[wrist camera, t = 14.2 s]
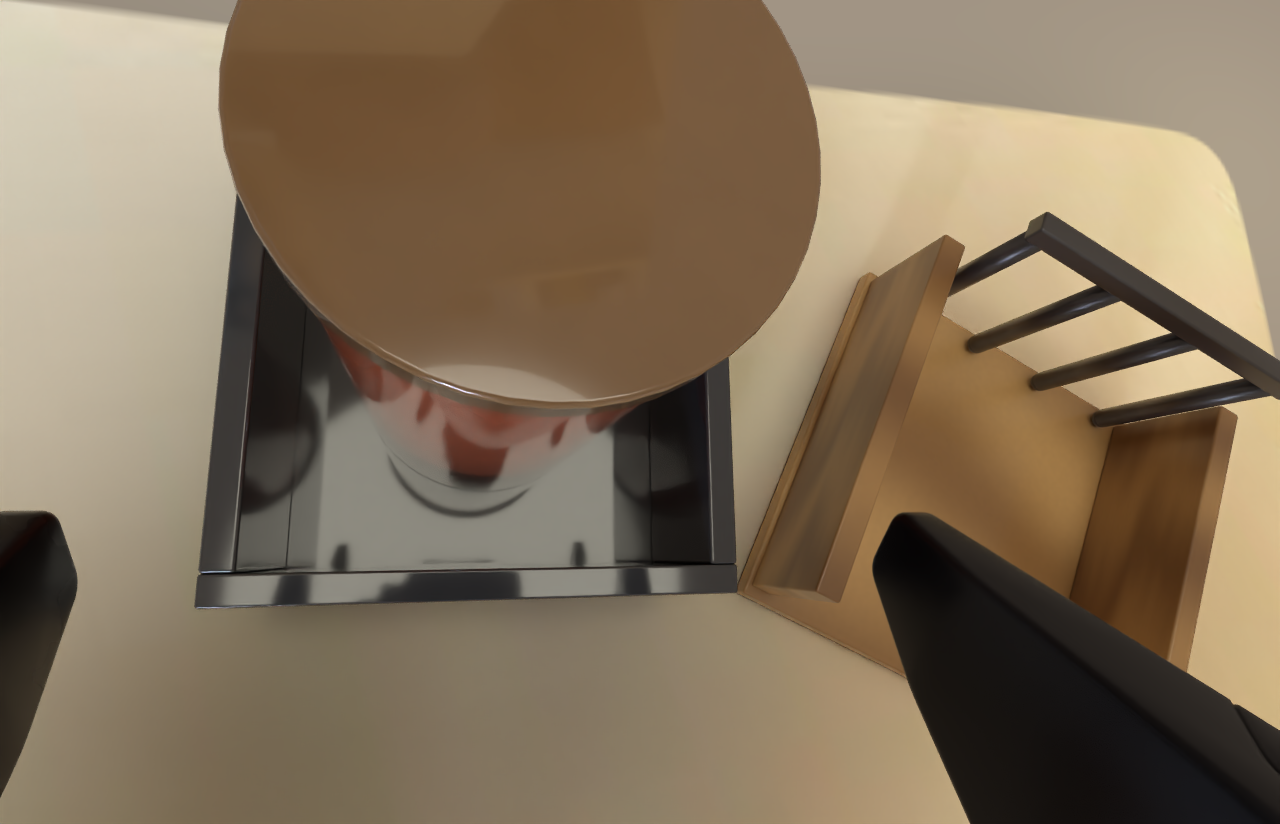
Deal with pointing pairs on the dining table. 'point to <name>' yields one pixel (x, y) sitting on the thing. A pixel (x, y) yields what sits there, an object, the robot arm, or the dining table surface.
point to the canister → (521, 204)
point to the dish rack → (1006, 451)
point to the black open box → (437, 486)
